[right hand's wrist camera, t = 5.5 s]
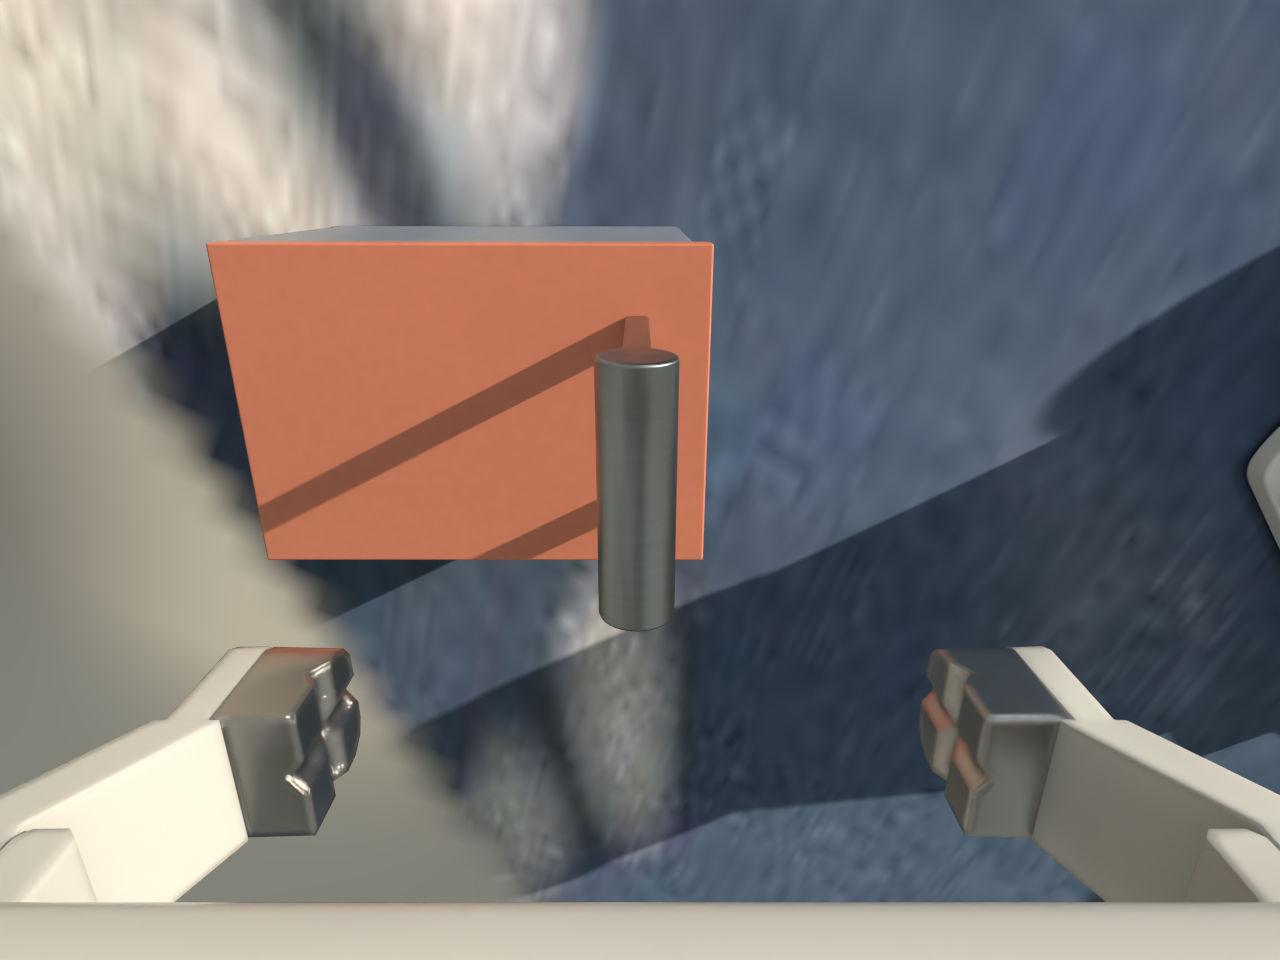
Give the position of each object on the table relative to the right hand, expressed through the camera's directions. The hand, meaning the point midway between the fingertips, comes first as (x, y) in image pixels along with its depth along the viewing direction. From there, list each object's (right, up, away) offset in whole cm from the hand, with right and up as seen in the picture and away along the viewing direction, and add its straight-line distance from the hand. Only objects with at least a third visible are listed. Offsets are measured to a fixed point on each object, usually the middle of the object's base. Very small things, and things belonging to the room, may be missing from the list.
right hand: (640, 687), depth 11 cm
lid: (-5, +5, +14) cm, 16 cm away
